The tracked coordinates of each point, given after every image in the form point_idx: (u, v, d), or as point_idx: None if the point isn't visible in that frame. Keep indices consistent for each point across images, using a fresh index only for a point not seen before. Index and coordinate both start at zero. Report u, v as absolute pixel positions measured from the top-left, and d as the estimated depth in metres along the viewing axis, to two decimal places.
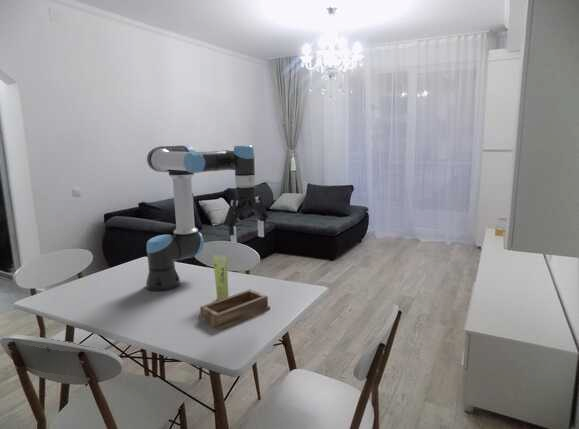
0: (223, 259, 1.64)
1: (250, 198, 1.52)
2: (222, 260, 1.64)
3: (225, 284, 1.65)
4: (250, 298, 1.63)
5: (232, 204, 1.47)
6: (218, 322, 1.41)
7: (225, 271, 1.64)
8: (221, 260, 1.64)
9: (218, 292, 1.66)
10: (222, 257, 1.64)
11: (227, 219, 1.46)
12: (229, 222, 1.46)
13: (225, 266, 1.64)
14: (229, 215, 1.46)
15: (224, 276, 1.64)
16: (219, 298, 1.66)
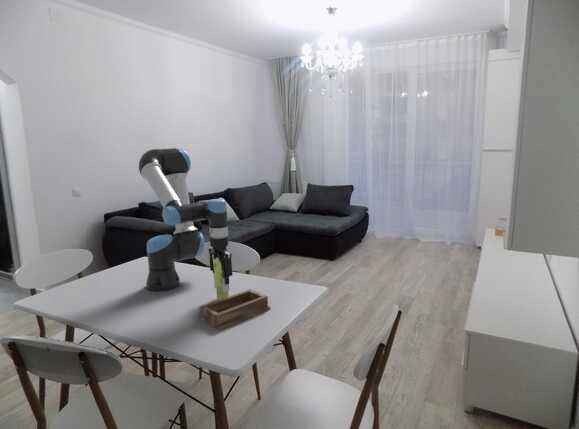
0: None
1: (219, 247, 1.62)
2: None
3: None
4: (250, 298, 1.63)
5: None
6: (218, 322, 1.41)
7: None
8: None
9: (218, 292, 1.66)
10: None
11: None
12: (210, 267, 1.69)
13: None
14: None
15: None
16: (219, 298, 1.66)
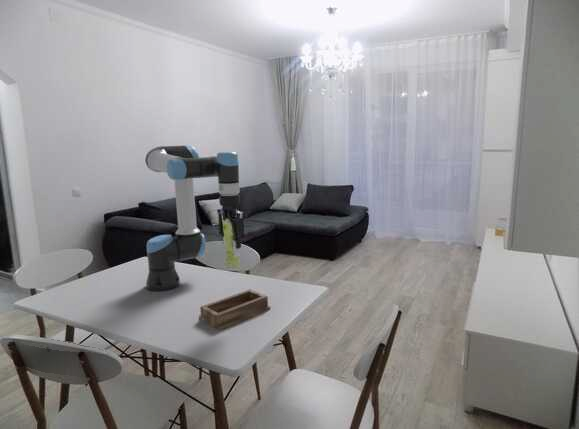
0: (233, 219, 1.45)
1: (230, 206, 1.43)
2: None
3: None
4: (250, 298, 1.63)
5: None
6: (218, 322, 1.41)
7: None
8: None
9: (228, 257, 1.47)
10: None
11: None
12: (219, 230, 1.51)
13: None
14: None
15: None
16: (229, 264, 1.48)
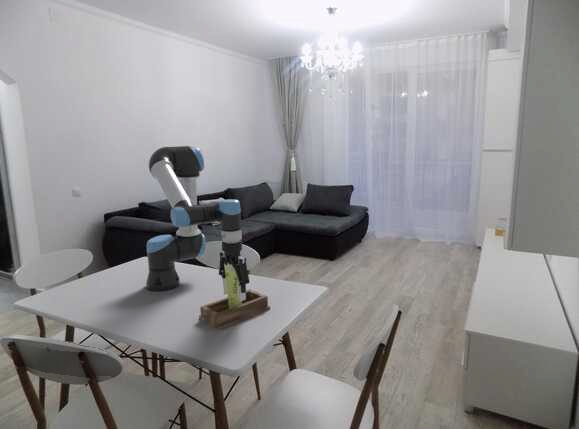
0: None
1: (232, 253, 1.47)
2: None
3: (238, 295, 1.50)
4: (250, 298, 1.63)
5: None
6: (218, 322, 1.41)
7: (238, 281, 1.49)
8: (234, 269, 1.49)
9: (230, 304, 1.51)
10: None
11: None
12: (219, 271, 1.55)
13: None
14: None
15: None
16: None
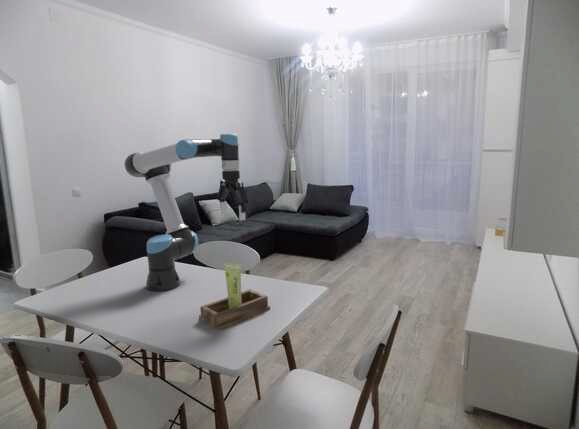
0: (236, 267, 1.49)
1: (231, 181, 1.70)
2: (235, 269, 1.49)
3: (238, 295, 1.50)
4: (250, 298, 1.63)
5: None
6: (218, 322, 1.41)
7: (238, 281, 1.49)
8: (234, 269, 1.49)
9: (231, 304, 1.51)
10: (235, 266, 1.49)
11: None
12: (218, 197, 1.79)
13: (238, 276, 1.49)
14: None
15: (238, 286, 1.50)
16: None
